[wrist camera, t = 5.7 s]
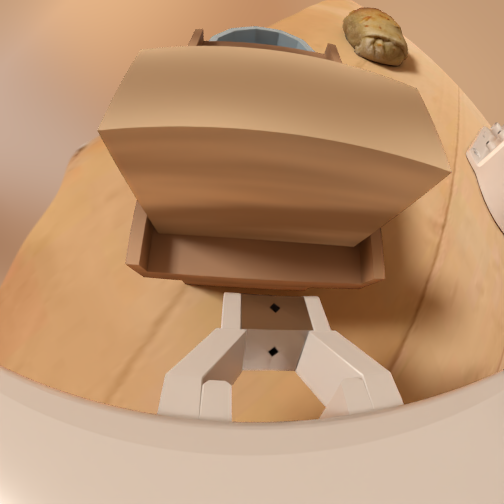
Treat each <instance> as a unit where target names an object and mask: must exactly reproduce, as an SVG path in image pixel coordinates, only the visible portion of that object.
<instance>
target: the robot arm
mask: <svg viewBox="0 0 504 504" xmlns="http://www.w3.org/2000/svg"><path fill="white" fill-rule="evenodd" d="M466 156H467V158H468V160H469V162H470V164H471V166H472V168H473V169H474V171H475V174H476V176H477V179H478V183H479V186H480V189H481V192H482V194H483V197H484V199H485V202H486V204H487V206H488V208H489V210H490V212H491V214H492V216H493V218H494V219H495V221H496V223H497V224H498V226H499V227H500V229H501V230H502V231H503V233H504V125H503V126H502V127H501V126H500V124H499V123H498V122H497V123H495V124H494V125H493V126H492V127H491V129H488V128H487V127H485V126H483V127H482V128H481V129H480V131H479V132H478V134H477V136H476V137H475V139H474V141H473V142H472V144H471V145H470V147H469V149H468V150H467V152H466ZM242 370H282V371H295V372H296V373H297V374H298V376H299V377H300V378H301V379H302V380H303V381H304V383H305V384H306V385H307V386H308V387H309V388H310V390H311V391H312V392H313V393H314V394H315V395H316V396H317V398H318V399H319V400H320V401H321V402H322V403H323V404H324V406H325V407H326V408H325V410H324V411H323V413H322V414H321V416H320V417H319V419H314V420H302V421H284V422H232V385H233V383H234V382H235V381H236V379H237V378H238V377H239V375H240V374H241V372H242ZM0 504H504V369H503V370H501V371H499V372H496V373H494V374H492V375H490V376H487V377H485V378H483V379H480V380H478V381H475V382H473V383H470V384H468V385H465V386H463V387H460V388H457V389H454V390H451V391H448V392H446V393H442V394H439V395H436V396H433V397H430V398H426V399H423V400H419V401H416V402H412V403H408V404H404V403H403V401H402V398H401V396H400V394H399V391H398V389H397V386H396V384H395V382H394V379H393V377H392V375H391V373H390V372H389V371H388V370H387V369H385V368H384V367H383V366H382V365H380V364H379V363H378V362H376V361H375V360H374V359H372V358H371V357H370V356H368V355H367V354H366V353H364V352H363V351H362V350H360V349H359V348H358V347H357V346H355V345H354V344H353V343H351V342H350V341H349V340H347V339H346V338H345V337H343V336H342V335H341V334H340V333H338V332H337V331H336V330H335V331H331V328H330V325H329V323H328V320H327V317H326V315H325V312H324V309H323V306H322V304H321V301H320V299H319V297H318V296H302V297H298V296H272V295H259V294H245V293H241V294H240V293H229V292H224V297H223V310H222V323H221V328H216V329H215V330H213V331H212V332H211V333H210V334H209V335H208V336H207V337H206V338H205V339H204V340H203V341H202V342H200V343H199V344H198V345H197V346H196V347H195V348H194V349H193V350H192V351H191V352H190V353H188V354H187V355H186V356H185V357H184V358H183V359H182V360H181V361H180V362H178V363H177V364H176V365H175V366H174V367H173V368H172V369H171V370H170V371H168V372H167V373H166V374H165V379H164V384H163V388H162V393H161V398H160V403H159V408H158V413H157V414H152V413H146V412H141V411H136V410H131V409H126V408H121V407H117V406H113V405H109V404H105V403H101V402H97V401H93V400H90V399H86V398H83V397H79V396H76V395H73V394H70V393H67V392H64V391H61V390H58V389H55V388H52V387H50V386H47V385H44V384H42V383H39V382H37V381H34V380H32V379H29V378H27V377H25V376H22V375H20V374H18V373H16V372H13V371H11V370H9V369H7V368H5V367H3V366H1V365H0Z"/></svg>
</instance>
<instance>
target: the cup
mask: <svg viewBox="0 0 504 504" xmlns="http://www.w3.org/2000/svg"><path fill="white" fill-rule="evenodd" d="M209 41H228V42H245V43H257V44H267V45H275V46H282V47H289V48H295V49H301V50H306V51H312V52H315V51H314V50H313V49H312V48H311V47H310V46H309V45H308V44H307V43H306V42H305V41H304V40H302V39H300V38H298V37H295V36H293V35H291V34H289V33H286V32H284V31H281V30H276V29H270V28H264V27H257V26H254V27H241V28H231V29H229V30H226V31H224V32H221V33H219V34H217V35H214V36H213V37H211V39H210V40H209Z"/></svg>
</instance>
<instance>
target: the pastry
mask: <svg viewBox="0 0 504 504" xmlns="http://www.w3.org/2000/svg"><path fill="white" fill-rule="evenodd" d="M343 29H344V32H345V37H346V39H347V40H348V41H349V43H350V44H351V45H352V47H354V48H355V51H354V52H355V53H356V54H357V55H359V56H361V57H363V58H366V59H369V60H371V61H375V62H379V63H383V64H388V65H392V66H394V65H395V66H399V65H400V64H401V63H402V61H403V60H405V59H406V58H407V54H408V49H407V43H406V41H405V39H404V37H403V35H402V31H401V28H400V26H399V25H398V24H397V23H396V22H395V21H394V19H393V18H392V17H391V16H389V15H387V14H386V13H384V12H382V11H381V10H379V9H376V8H359V9H357V10H354V11H352V12H350V13H349V15H348V16H347V17H346V18H345V19H344V20H343Z"/></svg>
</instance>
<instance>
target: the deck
mask: <svg viewBox="0 0 504 504" xmlns="http://www.w3.org/2000/svg"><path fill="white" fill-rule="evenodd" d="M188 46H230V47H246V48H258V49H267V50H276V51H283V52H290V53H296V54H301V55H307V56H312V57H317V58H322V59H326V60H331V61H335V62H339V63H342V61H341V59H340V56H339V53H338V51H337V48H336V46H335V45H333V44H329V43H328V45H327V48H326V51H325V54H321V53H316V52H312V51H306V50H301V49H295V48H289V47H282V46H275V45H267V44H257V43H245V42H228V41H203V29H196V30H195V32H194V34H193V36H192V38H191V40H190V42H189V44H188ZM125 264H126V265H128V266H129V267H130V268H132V269H133V270H135V271H136V272H137V273H139V274H140V275H142V276H143V277H149V278H161V279H173V280H182V281H183V282H184V283H185V284H193V285H207V286H222V287H238V288H256V289H276V290H301V291H304V290H306V289H308V288H309V287H310V288H343V289H359V288H362V287H365V286H368V285H370V284H373V283H376V282H378V281H381V280H384V279H385V267H384V255H383V244H382V235H381V228H379V229H378V230H377V231H375V232H374V233H372V234H371V235H370V236H368V237H367V238H365V239H364V240H363V241H361V242H360V243H358V244H357V245H356V246H354V247H349V246H337V245H324V244H311V243H298V242H284V241H270V240H256V239H241V238H226V237H210V236H194V235H177V234H160V233H158V232H157V230H156V229H155V227H154V226H153V224H152V223H151V221H150V220H149V218H148V216H147V215H146V213H145V212H144V210H143V208H142V207H141V205H140V204H139V202H138V200H137V202H136V206H135V211H134V216H133V221H132V226H131V232H130V237H129V243H128V249H127V255H126V262H125Z"/></svg>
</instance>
